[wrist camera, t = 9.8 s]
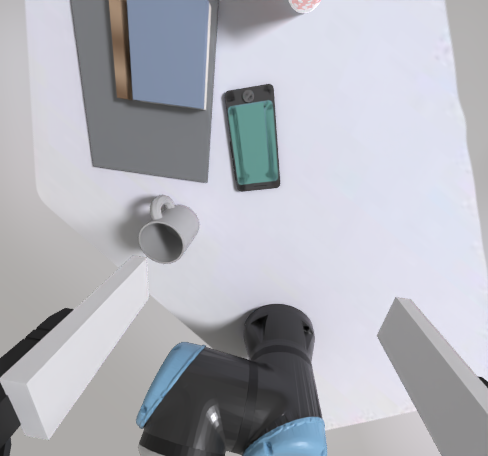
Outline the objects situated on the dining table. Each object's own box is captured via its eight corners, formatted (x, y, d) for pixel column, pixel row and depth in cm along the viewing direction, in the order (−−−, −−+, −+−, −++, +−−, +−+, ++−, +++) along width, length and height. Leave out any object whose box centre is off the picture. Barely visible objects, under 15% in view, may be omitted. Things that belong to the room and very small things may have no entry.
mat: (207, 181, 39) (206, 182, 39) (95, 165, 40) (93, 166, 39) (218, 0, 30) (217, -2, 29) (72, -17, 31) (68, -20, 30)
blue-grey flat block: (141, 101, 35) (206, 110, 34) (133, 99, 33) (201, 108, 32) (136, -2, 30) (211, 7, 30) (126, -13, 28) (206, -3, 27)
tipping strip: (132, 100, 35) (126, 98, 33) (122, 98, 35) (117, 97, 34) (126, -3, 30) (119, -9, 29) (115, -4, 30) (107, -11, 29)
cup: (170, 242, 45) (149, 267, 37) (151, 193, 41) (122, 209, 33) (205, 235, 43) (191, 259, 35) (188, 184, 40) (167, 198, 32)
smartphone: (273, 82, 32) (280, 187, 38) (272, 84, 33) (280, 186, 39) (222, 91, 33) (236, 192, 39) (223, 92, 34) (237, 190, 40)
